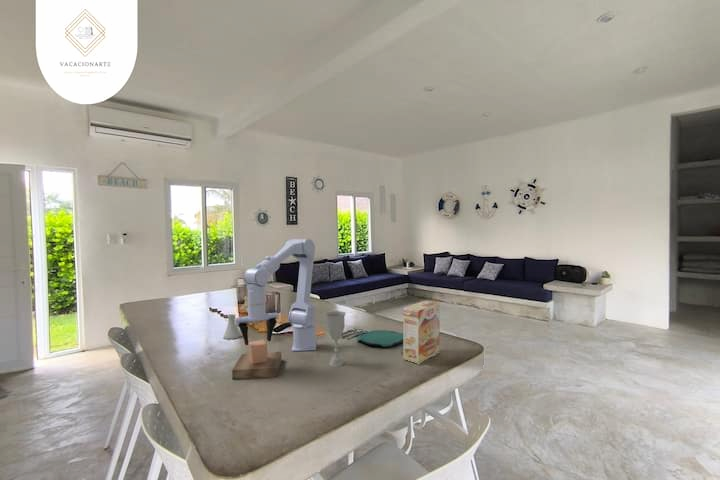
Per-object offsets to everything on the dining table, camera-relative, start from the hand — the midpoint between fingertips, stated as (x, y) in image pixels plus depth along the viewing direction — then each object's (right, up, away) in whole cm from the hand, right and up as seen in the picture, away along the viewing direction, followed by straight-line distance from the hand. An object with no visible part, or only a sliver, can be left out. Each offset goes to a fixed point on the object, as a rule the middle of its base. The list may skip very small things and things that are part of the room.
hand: (257, 342), depth 119 cm
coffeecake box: (+58, -9, +10) cm, 60 cm away
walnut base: (0, -9, 0) cm, 9 cm away
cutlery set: (+41, -8, +31) cm, 52 cm away
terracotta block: (0, -6, +1) cm, 6 cm away
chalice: (+27, -9, +4) cm, 29 cm away
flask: (-22, -8, +35) cm, 42 cm away
